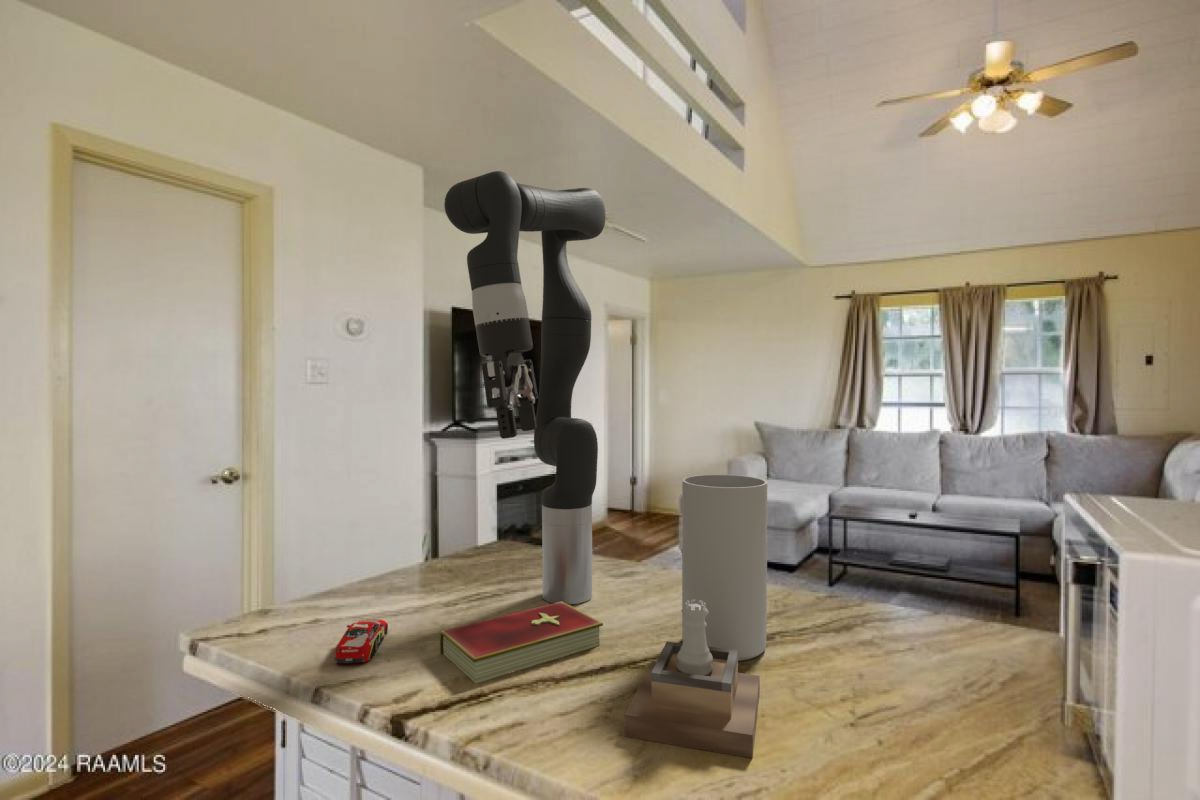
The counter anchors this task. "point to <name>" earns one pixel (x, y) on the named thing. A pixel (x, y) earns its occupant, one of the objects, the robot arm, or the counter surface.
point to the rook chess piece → (695, 641)
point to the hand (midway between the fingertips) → (519, 433)
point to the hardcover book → (519, 640)
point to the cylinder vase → (727, 558)
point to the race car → (361, 641)
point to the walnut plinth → (695, 723)
